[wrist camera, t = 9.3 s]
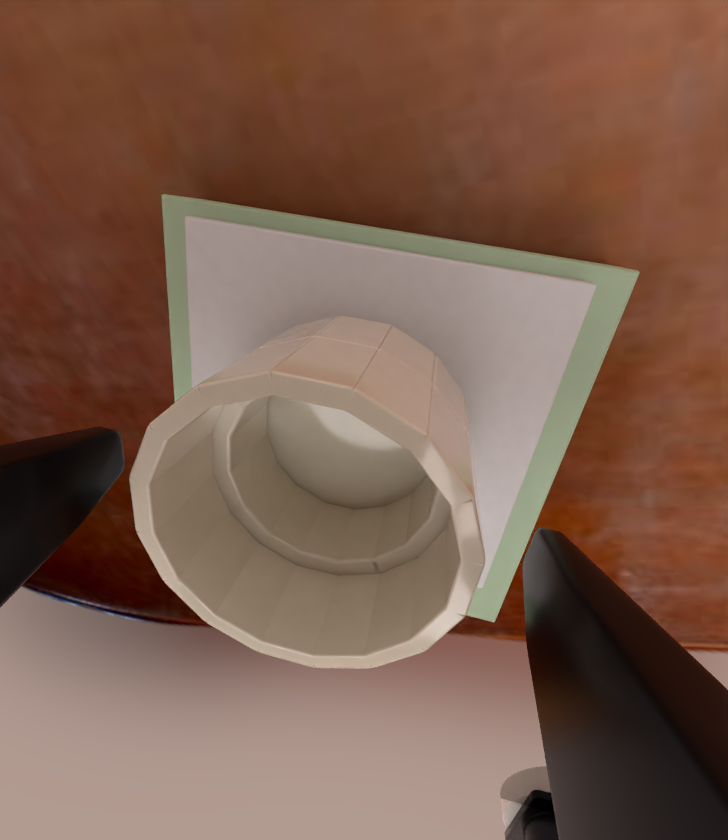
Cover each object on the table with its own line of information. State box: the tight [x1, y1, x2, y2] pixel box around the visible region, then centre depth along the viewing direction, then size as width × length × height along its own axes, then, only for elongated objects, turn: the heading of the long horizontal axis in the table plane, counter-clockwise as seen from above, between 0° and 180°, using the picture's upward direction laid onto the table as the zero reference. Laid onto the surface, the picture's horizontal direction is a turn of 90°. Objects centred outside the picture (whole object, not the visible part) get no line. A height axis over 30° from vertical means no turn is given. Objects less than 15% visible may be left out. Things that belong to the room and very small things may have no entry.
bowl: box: [129, 316, 485, 669], centre depth 10 cm, size 6×6×5 cm
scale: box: [161, 194, 639, 622], centre depth 13 cm, size 12×12×3 cm
